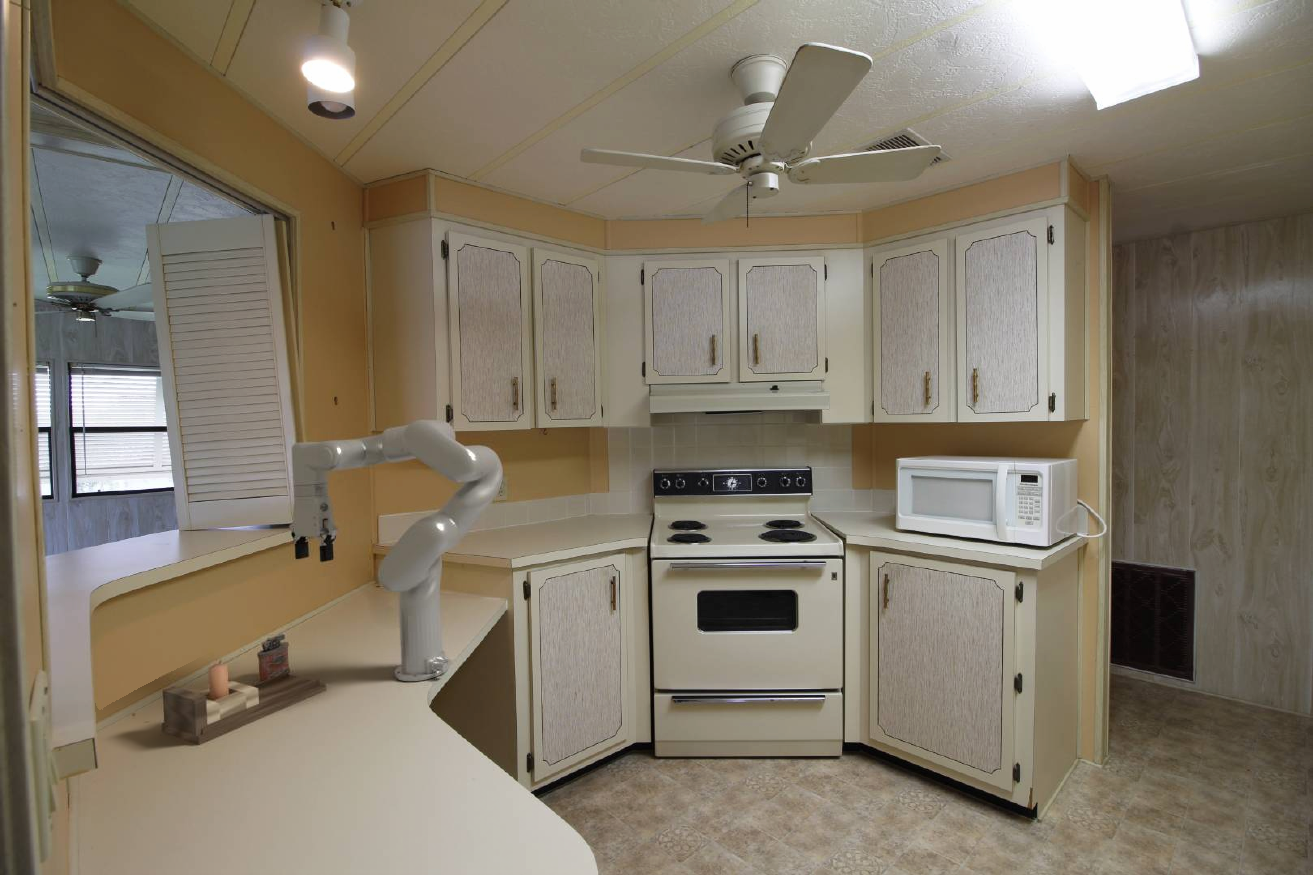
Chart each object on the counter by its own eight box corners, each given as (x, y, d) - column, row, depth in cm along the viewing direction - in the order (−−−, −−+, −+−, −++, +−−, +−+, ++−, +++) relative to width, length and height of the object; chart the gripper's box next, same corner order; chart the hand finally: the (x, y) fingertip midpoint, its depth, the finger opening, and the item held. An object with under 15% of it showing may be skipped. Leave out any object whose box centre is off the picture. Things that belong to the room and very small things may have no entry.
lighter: (266, 685, 143) (264, 643, 143) (254, 684, 144) (252, 643, 144) (293, 671, 151) (291, 632, 151) (282, 670, 152) (280, 631, 151)
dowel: (216, 718, 124) (213, 670, 123) (207, 715, 125) (205, 668, 125) (233, 711, 126) (230, 664, 126) (224, 708, 128) (222, 662, 128)
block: (259, 706, 128) (258, 688, 128) (206, 728, 119) (205, 708, 119) (232, 698, 132) (231, 680, 132) (179, 719, 123) (178, 699, 123)
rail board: (326, 689, 139) (324, 653, 139) (199, 744, 116) (197, 701, 116) (289, 680, 146) (287, 645, 145) (162, 730, 122) (160, 689, 122)
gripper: (347, 490, 149) (350, 558, 149) (304, 489, 157) (307, 554, 157) (318, 493, 142) (322, 565, 143) (274, 492, 150) (278, 560, 150)
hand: (314, 559), depth 150 cm, fingers open, 9 cm apart
